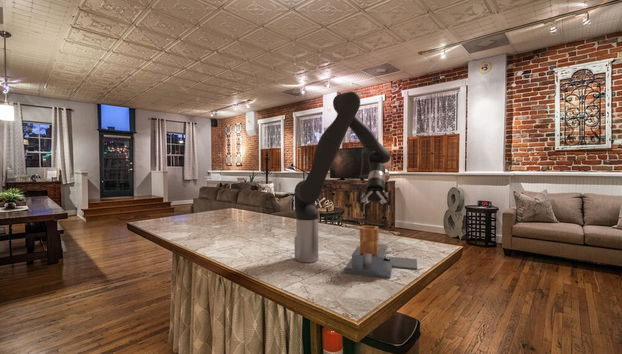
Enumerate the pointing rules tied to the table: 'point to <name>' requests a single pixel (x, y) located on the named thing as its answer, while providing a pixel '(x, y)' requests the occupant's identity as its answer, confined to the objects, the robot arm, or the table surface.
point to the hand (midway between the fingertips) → (373, 211)
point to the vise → (370, 264)
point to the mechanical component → (385, 246)
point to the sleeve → (369, 239)
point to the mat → (403, 262)
